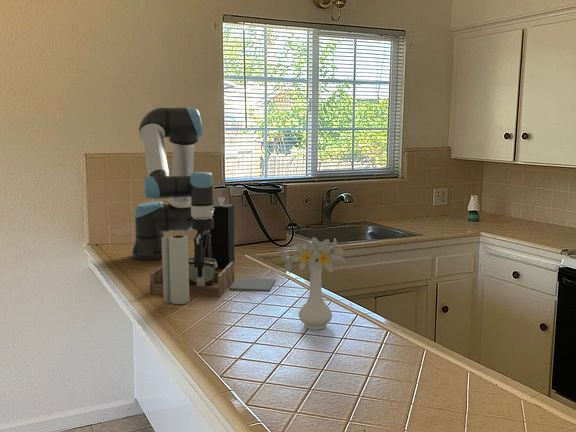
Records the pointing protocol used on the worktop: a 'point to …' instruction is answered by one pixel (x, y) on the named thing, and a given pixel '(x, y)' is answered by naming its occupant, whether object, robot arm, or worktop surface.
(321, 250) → the flower vase
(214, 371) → the worktop surface
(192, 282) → the food container
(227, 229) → the black bar
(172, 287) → the paper towel roll
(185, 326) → the worktop surface
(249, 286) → the mat
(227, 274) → the rack
